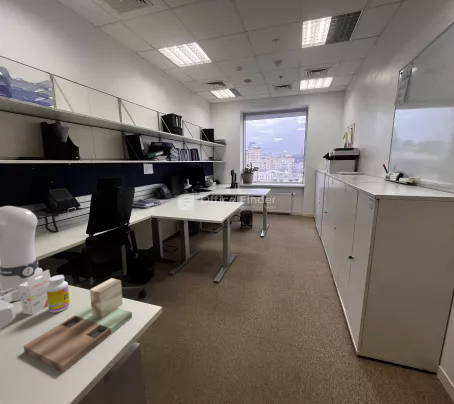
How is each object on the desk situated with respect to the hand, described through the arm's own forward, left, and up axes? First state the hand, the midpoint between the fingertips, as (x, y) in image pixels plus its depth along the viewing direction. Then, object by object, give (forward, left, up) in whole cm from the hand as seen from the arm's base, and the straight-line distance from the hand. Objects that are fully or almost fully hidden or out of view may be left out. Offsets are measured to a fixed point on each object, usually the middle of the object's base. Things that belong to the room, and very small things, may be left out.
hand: (17, 291), depth 55 cm
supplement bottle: (-22, +21, -24) cm, 39 cm away
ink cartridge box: (-30, +18, -24) cm, 42 cm away
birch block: (-1, +25, -21) cm, 33 cm away
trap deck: (0, +16, -23) cm, 28 cm away
